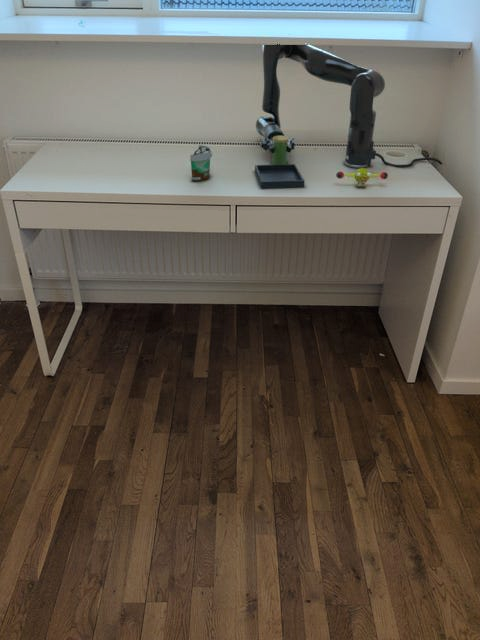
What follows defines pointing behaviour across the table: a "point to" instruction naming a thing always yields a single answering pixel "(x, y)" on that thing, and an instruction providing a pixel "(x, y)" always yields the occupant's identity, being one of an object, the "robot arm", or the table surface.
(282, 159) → the green cup
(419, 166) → the table surface
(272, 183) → the dark grey shallow tray
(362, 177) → the toy figure
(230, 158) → the table surface
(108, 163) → the table surface
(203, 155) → the food container
